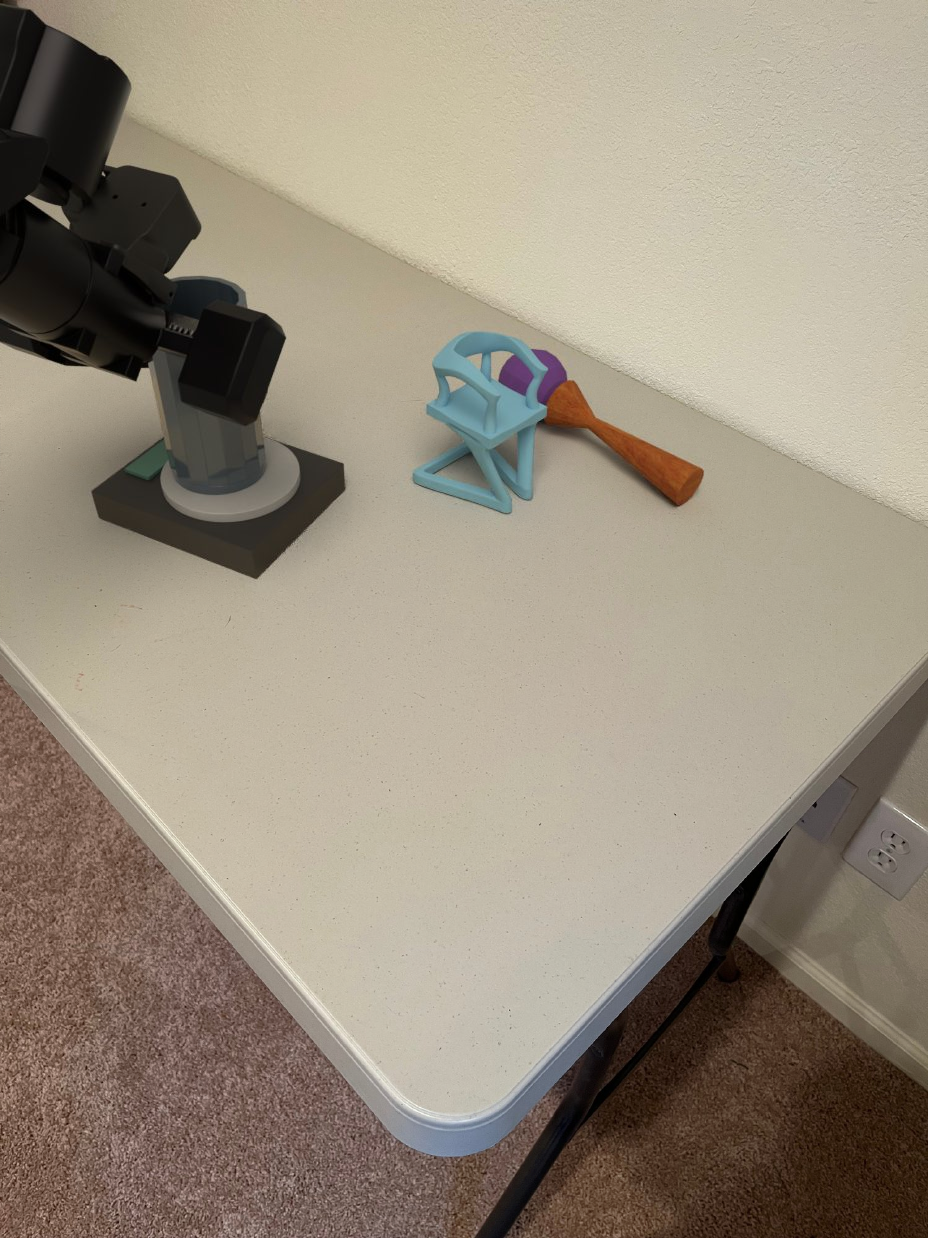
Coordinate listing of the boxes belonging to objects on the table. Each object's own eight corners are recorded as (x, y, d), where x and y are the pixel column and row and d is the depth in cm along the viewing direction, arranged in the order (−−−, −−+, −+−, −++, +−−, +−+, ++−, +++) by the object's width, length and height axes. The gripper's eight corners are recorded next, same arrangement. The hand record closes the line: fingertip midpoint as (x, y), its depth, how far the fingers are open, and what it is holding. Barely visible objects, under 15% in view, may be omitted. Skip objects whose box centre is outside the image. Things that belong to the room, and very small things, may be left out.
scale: (98, 518, 68) (87, 481, 65) (199, 439, 75) (193, 404, 73) (256, 579, 64) (251, 543, 61) (345, 489, 72) (343, 454, 69)
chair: (488, 528, 69) (500, 387, 61) (410, 480, 73) (412, 341, 64) (551, 486, 73) (571, 349, 65) (475, 443, 77) (485, 308, 69)
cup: (194, 506, 64) (161, 333, 55) (157, 458, 68) (120, 289, 59) (282, 476, 67) (264, 308, 58) (242, 432, 71) (219, 267, 62)
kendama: (671, 480, 68) (483, 357, 76) (660, 532, 73) (484, 411, 81) (721, 439, 70) (533, 324, 79) (706, 493, 75) (531, 378, 83)
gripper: (247, 168, 45) (366, 298, 60) (-38, 99, 50) (137, 235, 65) (171, 383, 45) (308, 459, 60) (-105, 293, 50) (85, 384, 65)
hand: (207, 377), depth 62 cm, fingers open, 9 cm apart
